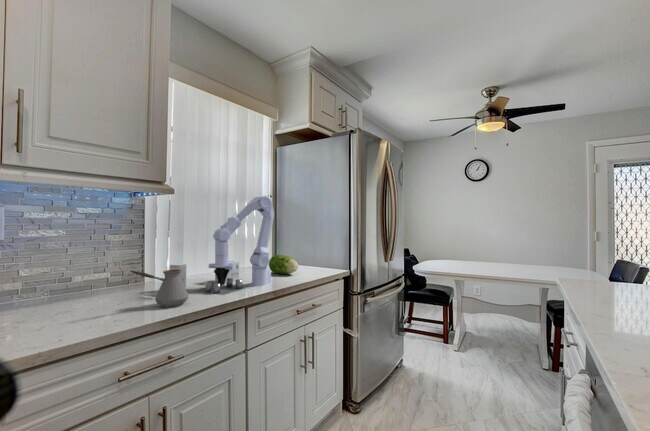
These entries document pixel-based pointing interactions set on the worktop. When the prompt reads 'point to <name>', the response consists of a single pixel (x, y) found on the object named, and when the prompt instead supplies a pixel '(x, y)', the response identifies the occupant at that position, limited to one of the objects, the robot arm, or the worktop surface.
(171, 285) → the coffee pot
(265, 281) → the robot arm
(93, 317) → the worktop surface
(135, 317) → the worktop surface
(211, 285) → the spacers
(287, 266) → the lettuce
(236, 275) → the light bulb box
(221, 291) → the mat
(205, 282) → the nut
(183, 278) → the skincare box
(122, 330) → the worktop surface
